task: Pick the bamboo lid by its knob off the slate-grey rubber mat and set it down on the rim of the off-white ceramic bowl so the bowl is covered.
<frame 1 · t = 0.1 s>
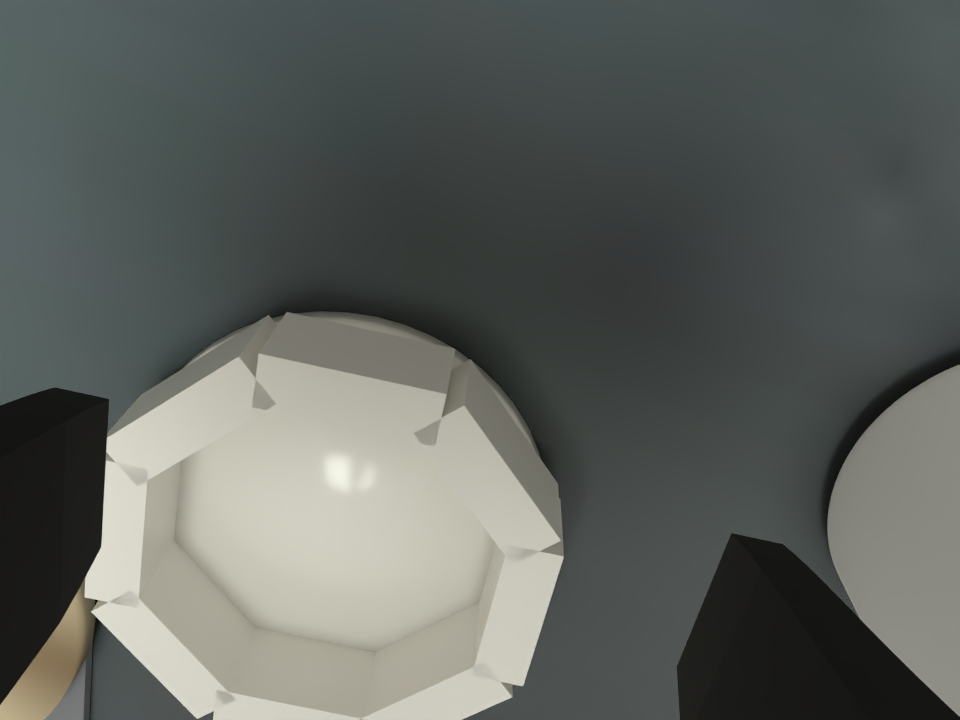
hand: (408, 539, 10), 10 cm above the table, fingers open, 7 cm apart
bowl: (343, 500, 22), on the table
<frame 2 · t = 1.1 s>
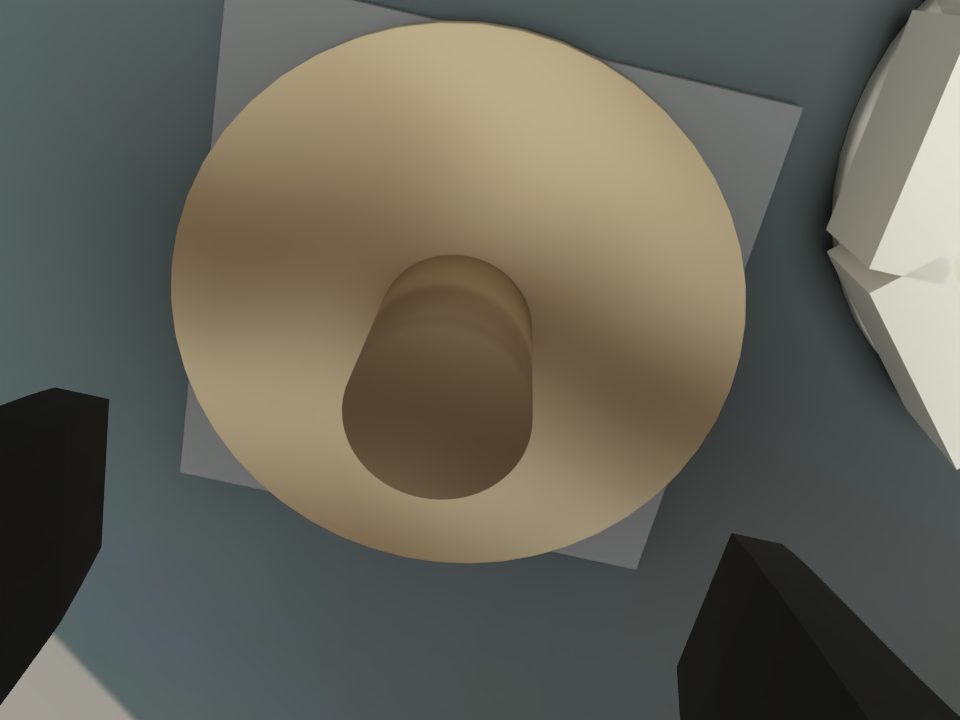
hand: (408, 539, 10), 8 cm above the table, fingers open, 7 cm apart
lid: (458, 309, 17), resting on mat
mat: (460, 302, 18), on the table
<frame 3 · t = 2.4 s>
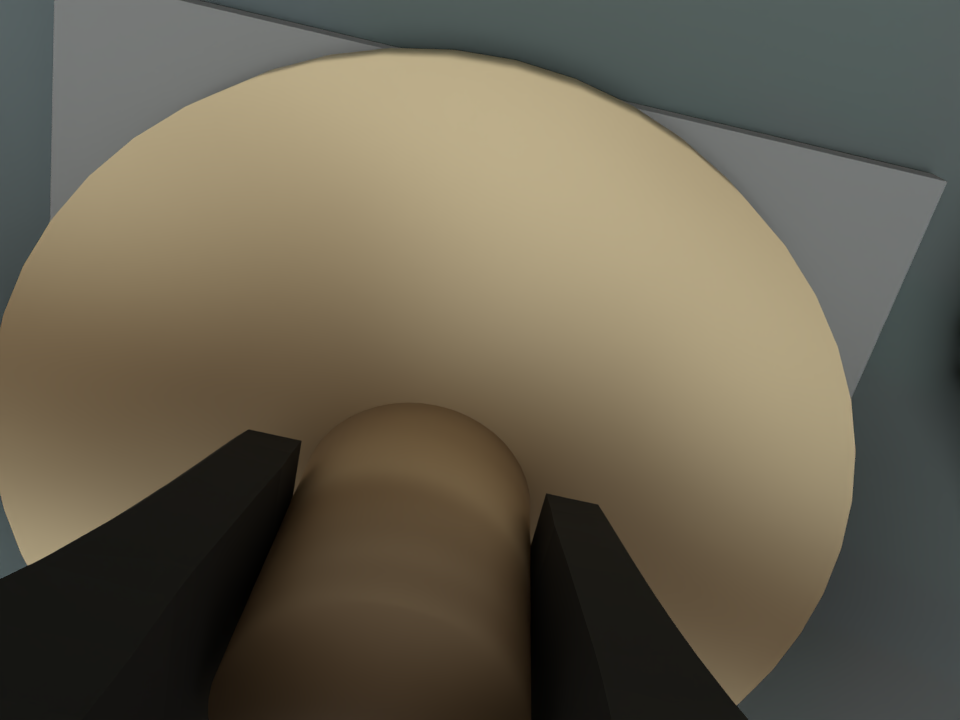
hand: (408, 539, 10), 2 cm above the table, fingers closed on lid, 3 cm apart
lid: (424, 462, 12), resting on mat, touching gripper
mat: (427, 447, 12), on the table
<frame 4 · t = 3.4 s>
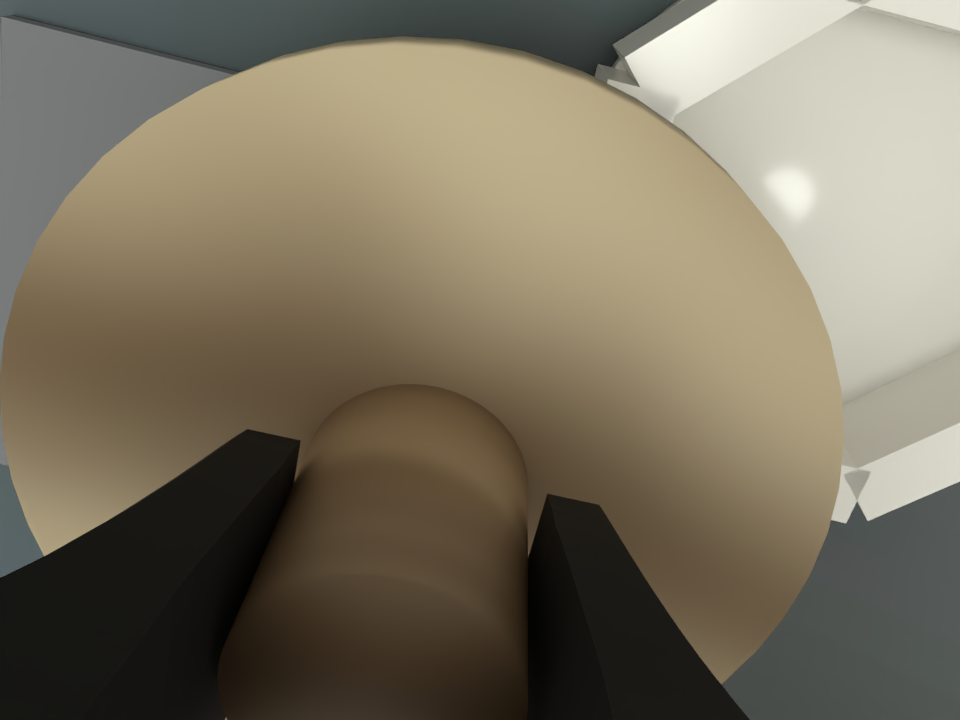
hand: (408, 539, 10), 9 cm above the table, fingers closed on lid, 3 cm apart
bowl: (809, 215, 18), on the table
lid: (424, 443, 12), point 7 cm above the table, touching gripper
mat: (238, 312, 19), on the table
when the fingers open (6 cm above the table, at t = 4.7 s): lid stays where it is, resting on bowl.
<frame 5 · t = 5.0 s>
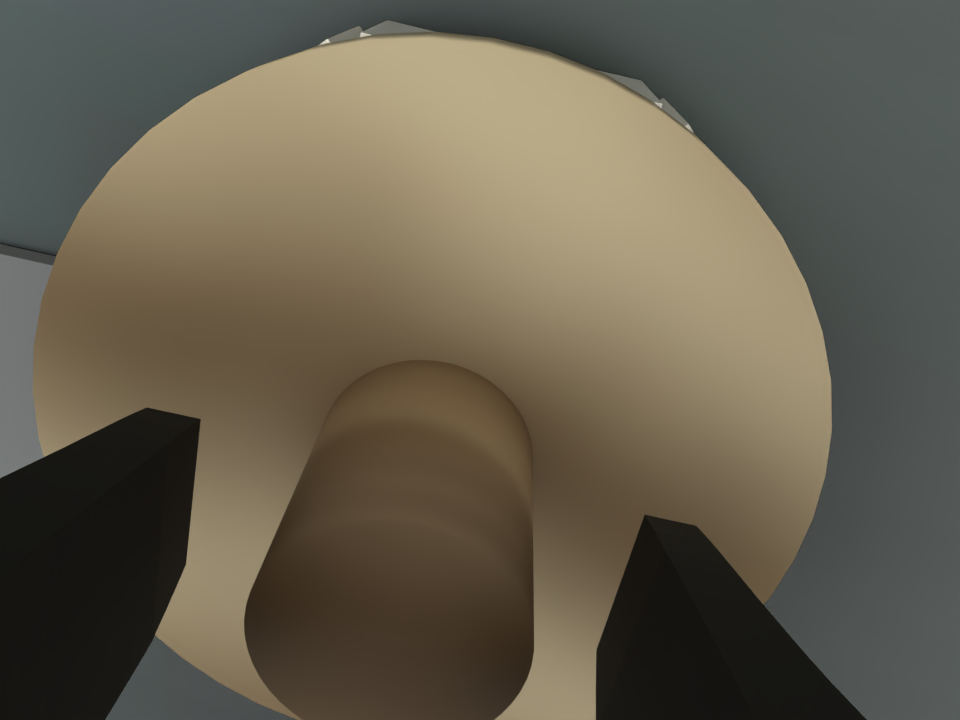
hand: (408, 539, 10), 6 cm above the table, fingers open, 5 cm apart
bowl: (448, 343, 15), on the table
lid: (433, 420, 13), point 3 cm above the table, touching bowl
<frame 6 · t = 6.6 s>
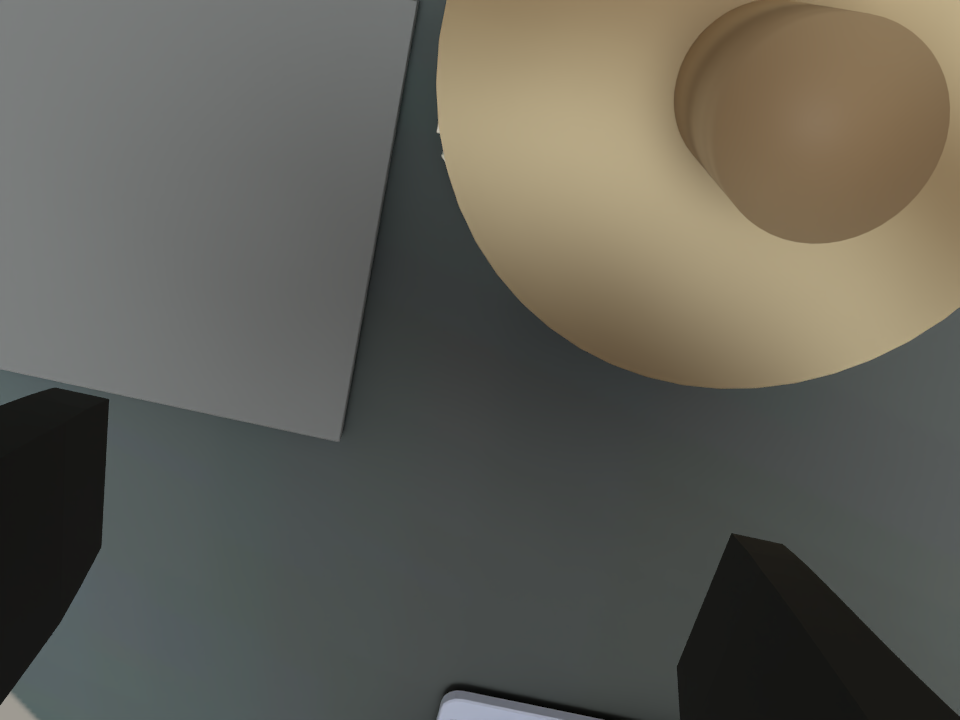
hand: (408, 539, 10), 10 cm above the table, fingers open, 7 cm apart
lid: (749, 85, 15), point 3 cm above the table, touching bowl
mat: (150, 188, 19), on the table
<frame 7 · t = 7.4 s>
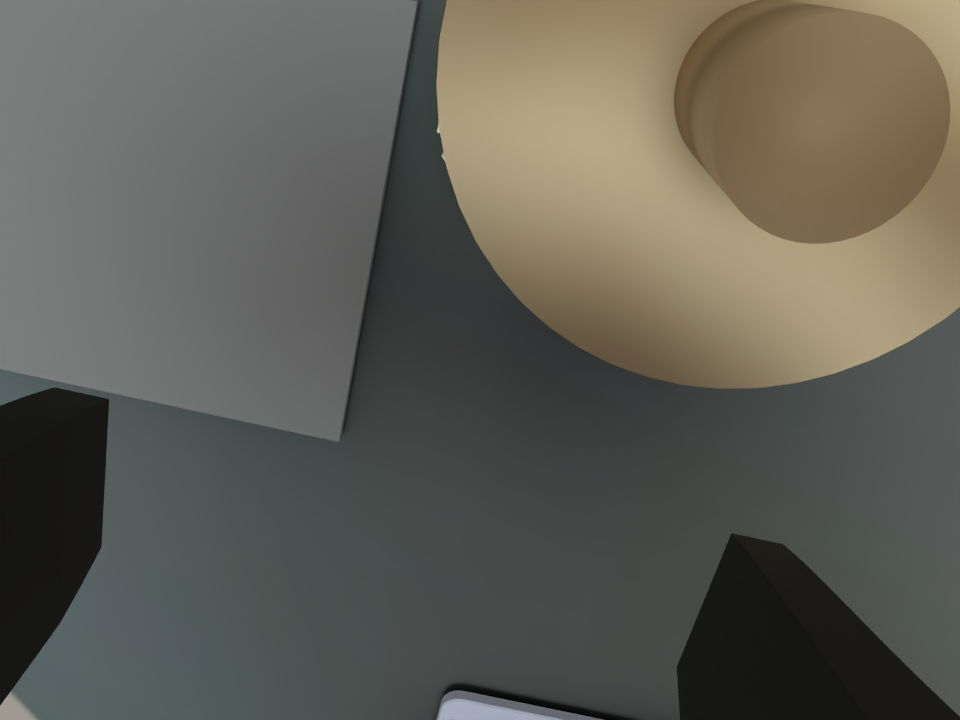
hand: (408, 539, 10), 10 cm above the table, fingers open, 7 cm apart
lid: (749, 85, 15), point 3 cm above the table, touching bowl
mat: (151, 188, 19), on the table
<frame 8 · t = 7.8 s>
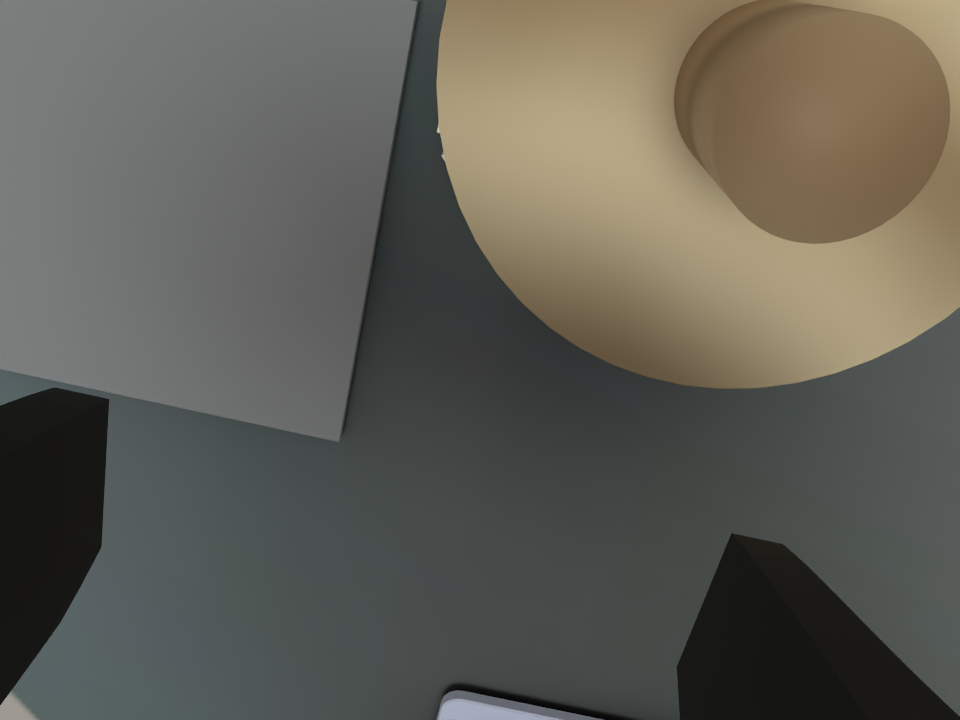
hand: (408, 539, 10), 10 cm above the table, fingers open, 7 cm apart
lid: (749, 85, 15), point 3 cm above the table, touching bowl
mat: (151, 188, 19), on the table
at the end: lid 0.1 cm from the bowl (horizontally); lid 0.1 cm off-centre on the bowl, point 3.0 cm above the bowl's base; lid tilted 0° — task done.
